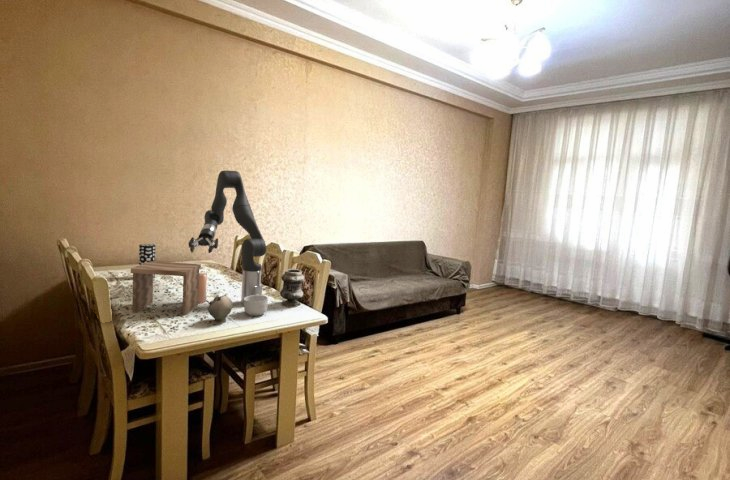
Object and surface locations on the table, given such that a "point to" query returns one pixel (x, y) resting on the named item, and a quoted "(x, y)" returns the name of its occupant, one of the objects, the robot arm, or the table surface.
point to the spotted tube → (146, 254)
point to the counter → (146, 271)
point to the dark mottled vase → (292, 287)
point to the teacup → (255, 304)
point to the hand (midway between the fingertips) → (200, 251)
